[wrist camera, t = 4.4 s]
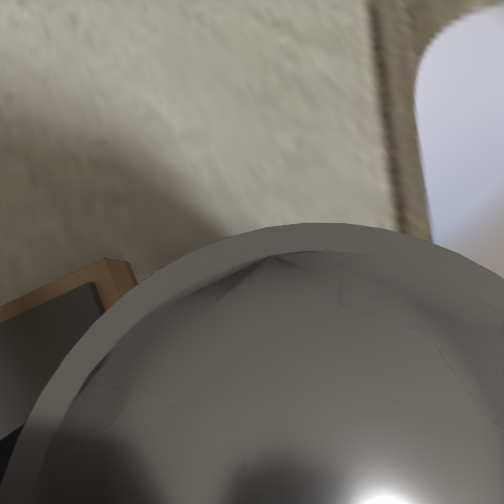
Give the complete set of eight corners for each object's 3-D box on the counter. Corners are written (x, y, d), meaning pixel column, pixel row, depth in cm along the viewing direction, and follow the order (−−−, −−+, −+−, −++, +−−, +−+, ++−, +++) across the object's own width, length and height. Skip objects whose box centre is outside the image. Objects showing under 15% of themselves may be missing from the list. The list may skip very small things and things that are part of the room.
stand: (20, 516, 14) (-44, 579, 11) (-31, 336, 15) (-100, 348, 12) (195, 427, 14) (179, 465, 11) (128, 262, 16) (99, 257, 13)
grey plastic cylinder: (240, 405, 14) (102, 1484, 1) (195, 300, 15) (-132, 370, 2) (341, 354, 15) (967, 841, 2) (290, 255, 16) (456, 98, 3)
